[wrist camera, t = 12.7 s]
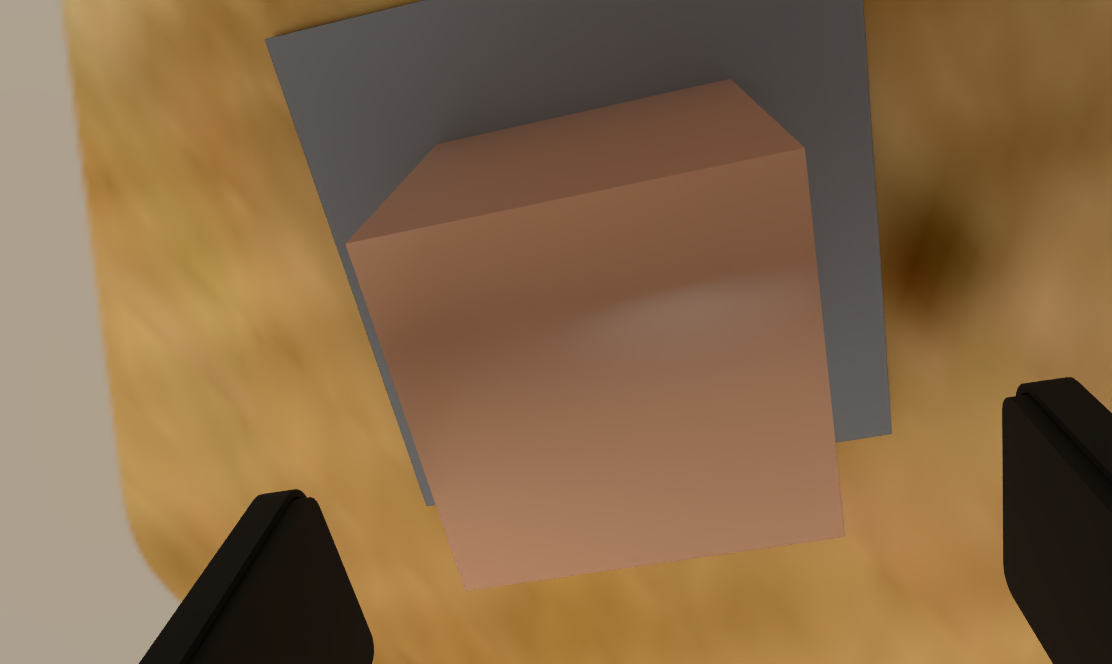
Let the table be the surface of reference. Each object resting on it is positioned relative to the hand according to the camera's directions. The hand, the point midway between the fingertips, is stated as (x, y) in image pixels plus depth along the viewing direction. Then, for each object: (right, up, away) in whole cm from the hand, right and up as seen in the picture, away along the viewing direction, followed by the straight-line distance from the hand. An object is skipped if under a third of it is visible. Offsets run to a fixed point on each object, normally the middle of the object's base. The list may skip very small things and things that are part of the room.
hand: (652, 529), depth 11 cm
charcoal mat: (0, +5, +11) cm, 12 cm away
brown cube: (0, +5, +10) cm, 12 cm away
